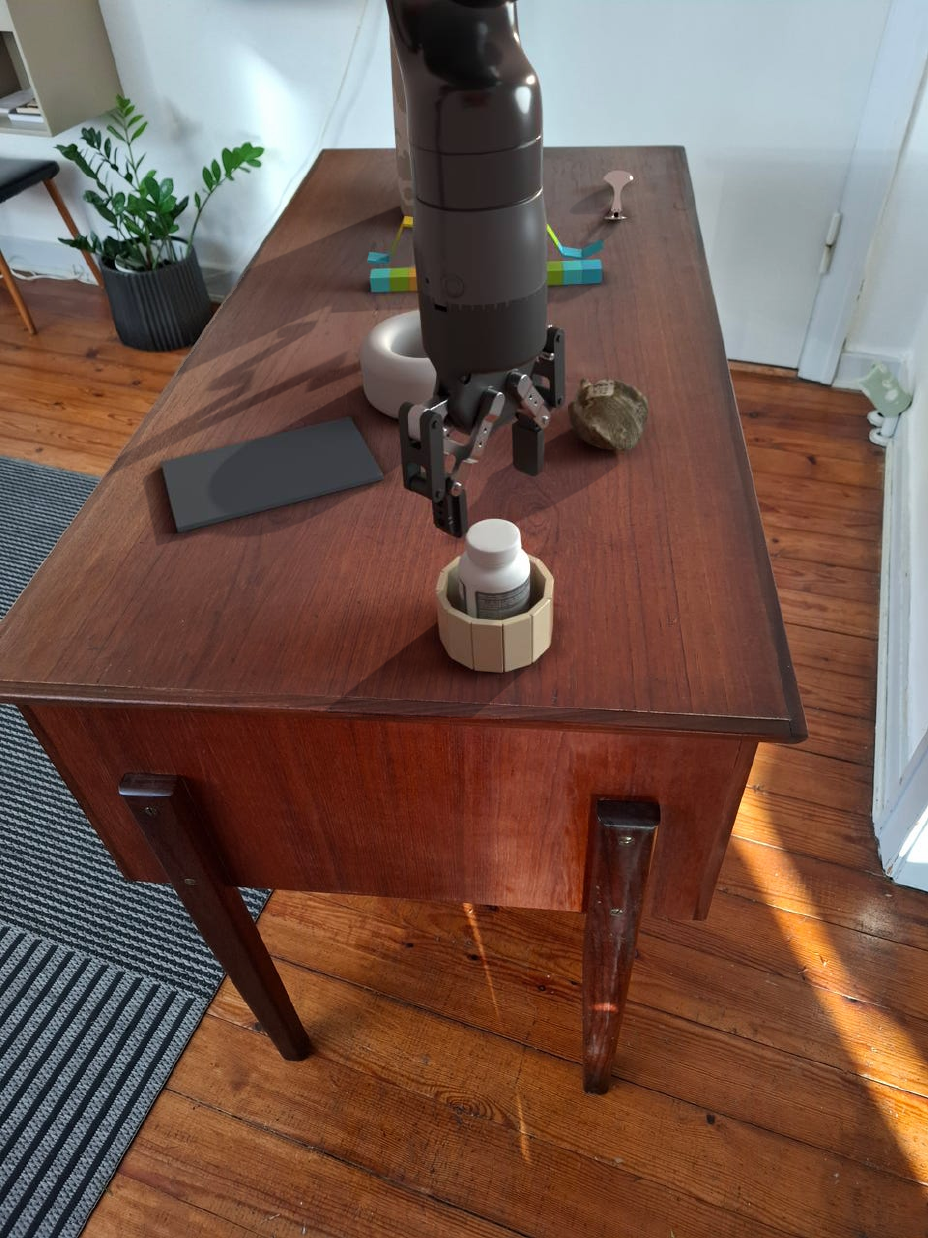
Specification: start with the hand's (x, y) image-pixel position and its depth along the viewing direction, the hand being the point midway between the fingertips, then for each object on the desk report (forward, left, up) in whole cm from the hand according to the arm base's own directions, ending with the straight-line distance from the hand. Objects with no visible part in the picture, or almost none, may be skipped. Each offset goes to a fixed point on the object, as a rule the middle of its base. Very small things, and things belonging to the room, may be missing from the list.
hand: (491, 500), depth 62 cm
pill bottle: (0, 0, -13) cm, 13 cm away
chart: (+24, +62, -13) cm, 68 cm away
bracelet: (0, 0, -13) cm, 13 cm away
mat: (-12, +30, -13) cm, 35 cm away
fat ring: (+8, +38, -13) cm, 41 cm away
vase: (+30, +89, -13) cm, 95 cm away
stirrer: (+52, +78, -13) cm, 95 cm away
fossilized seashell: (+21, +22, -13) cm, 33 cm away
